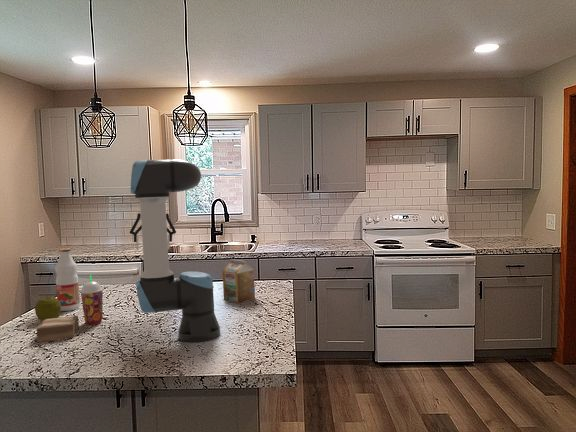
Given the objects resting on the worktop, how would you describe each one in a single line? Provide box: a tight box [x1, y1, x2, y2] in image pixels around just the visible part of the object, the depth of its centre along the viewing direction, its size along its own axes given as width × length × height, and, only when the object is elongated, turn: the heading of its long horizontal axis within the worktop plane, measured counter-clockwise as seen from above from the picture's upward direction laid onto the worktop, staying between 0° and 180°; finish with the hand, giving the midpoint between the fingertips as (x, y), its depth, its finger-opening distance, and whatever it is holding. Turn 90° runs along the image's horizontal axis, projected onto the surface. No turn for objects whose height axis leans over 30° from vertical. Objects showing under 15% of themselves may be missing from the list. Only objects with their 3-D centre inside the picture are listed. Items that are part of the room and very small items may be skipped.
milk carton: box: [222, 258, 256, 304], centre depth 213 cm, size 11×11×19 cm
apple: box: [34, 296, 62, 322], centre depth 189 cm, size 10×10×11 cm
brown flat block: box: [36, 315, 80, 343], centre depth 170 cm, size 12×12×5 cm
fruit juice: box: [54, 247, 81, 312], centre depth 206 cm, size 9×9×28 cm
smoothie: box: [80, 274, 104, 326], centre depth 184 cm, size 8×8×20 cm
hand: (153, 249), depth 204 cm, fingers open, 13 cm apart
